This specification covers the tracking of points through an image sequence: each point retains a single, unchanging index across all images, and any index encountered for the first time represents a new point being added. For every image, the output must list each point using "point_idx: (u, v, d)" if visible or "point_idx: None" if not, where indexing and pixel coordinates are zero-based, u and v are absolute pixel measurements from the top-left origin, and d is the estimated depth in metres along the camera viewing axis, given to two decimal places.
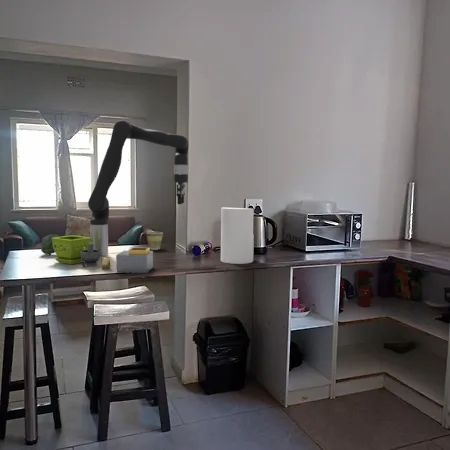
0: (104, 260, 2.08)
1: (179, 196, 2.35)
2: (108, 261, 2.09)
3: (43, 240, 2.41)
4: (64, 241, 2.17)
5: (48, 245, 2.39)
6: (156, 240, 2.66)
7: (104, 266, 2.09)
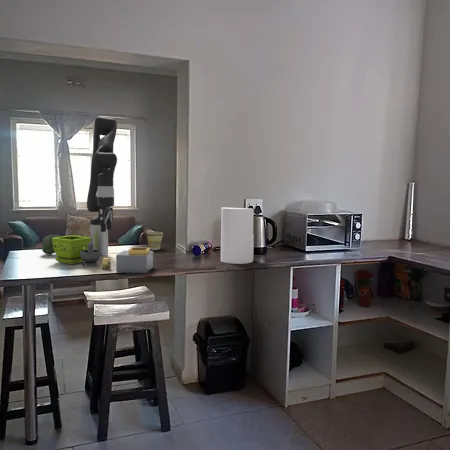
0: (104, 260, 2.08)
1: (102, 223, 2.03)
2: (108, 261, 2.09)
3: (44, 240, 2.42)
4: (64, 241, 2.17)
5: (49, 245, 2.39)
6: (156, 240, 2.66)
7: (104, 266, 2.09)
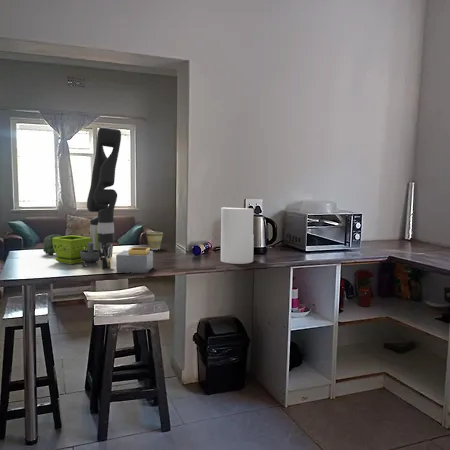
0: None
1: (104, 260, 2.07)
2: (108, 261, 2.09)
3: (45, 240, 2.42)
4: (64, 241, 2.17)
5: (50, 245, 2.40)
6: (156, 240, 2.66)
7: None
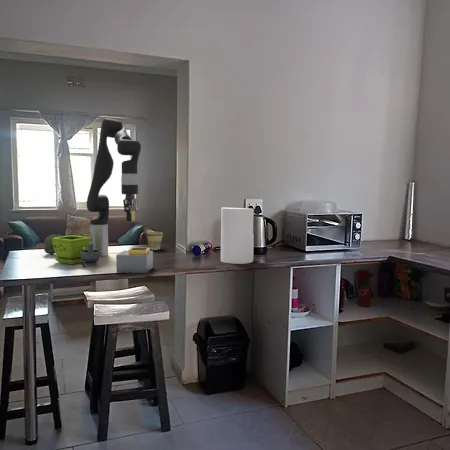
0: None
1: (128, 212, 2.02)
2: (133, 214, 2.05)
3: (46, 240, 2.42)
4: (64, 241, 2.17)
5: (51, 245, 2.40)
6: (156, 240, 2.66)
7: None
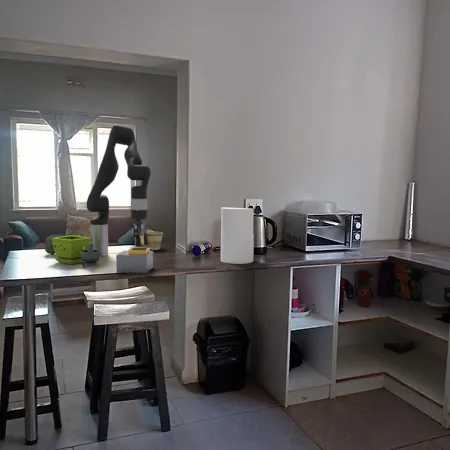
0: None
1: (137, 237, 2.04)
2: (142, 238, 2.06)
3: (47, 240, 2.42)
4: (64, 241, 2.17)
5: (52, 245, 2.40)
6: (156, 240, 2.66)
7: None
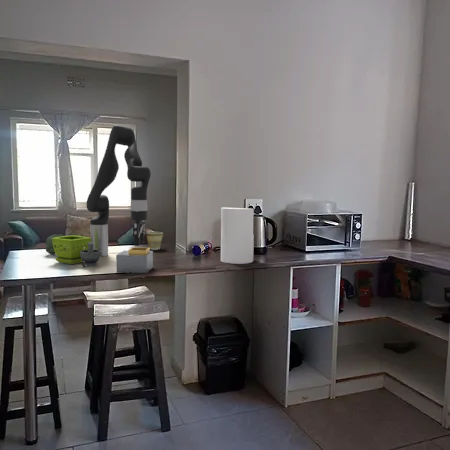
0: None
1: (136, 237, 2.02)
2: None
3: (48, 240, 2.42)
4: (64, 241, 2.17)
5: None
6: (156, 240, 2.66)
7: None
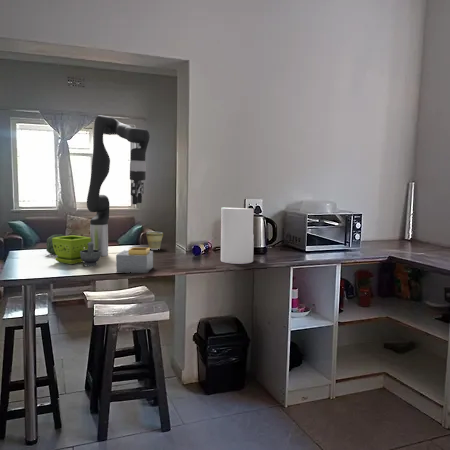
0: None
1: (134, 195, 2.12)
2: None
3: (48, 240, 2.42)
4: (64, 241, 2.17)
5: None
6: (156, 240, 2.66)
7: None
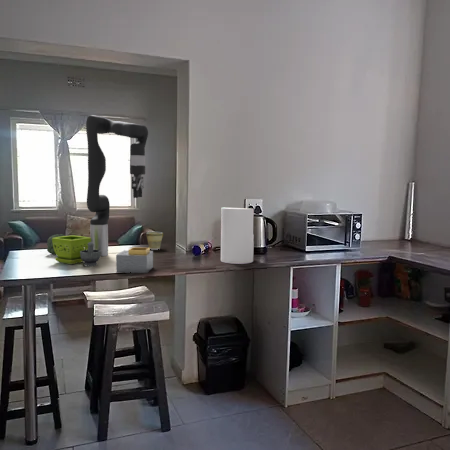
0: None
1: (135, 189, 2.17)
2: None
3: (49, 240, 2.43)
4: (64, 241, 2.17)
5: None
6: (156, 240, 2.66)
7: None
